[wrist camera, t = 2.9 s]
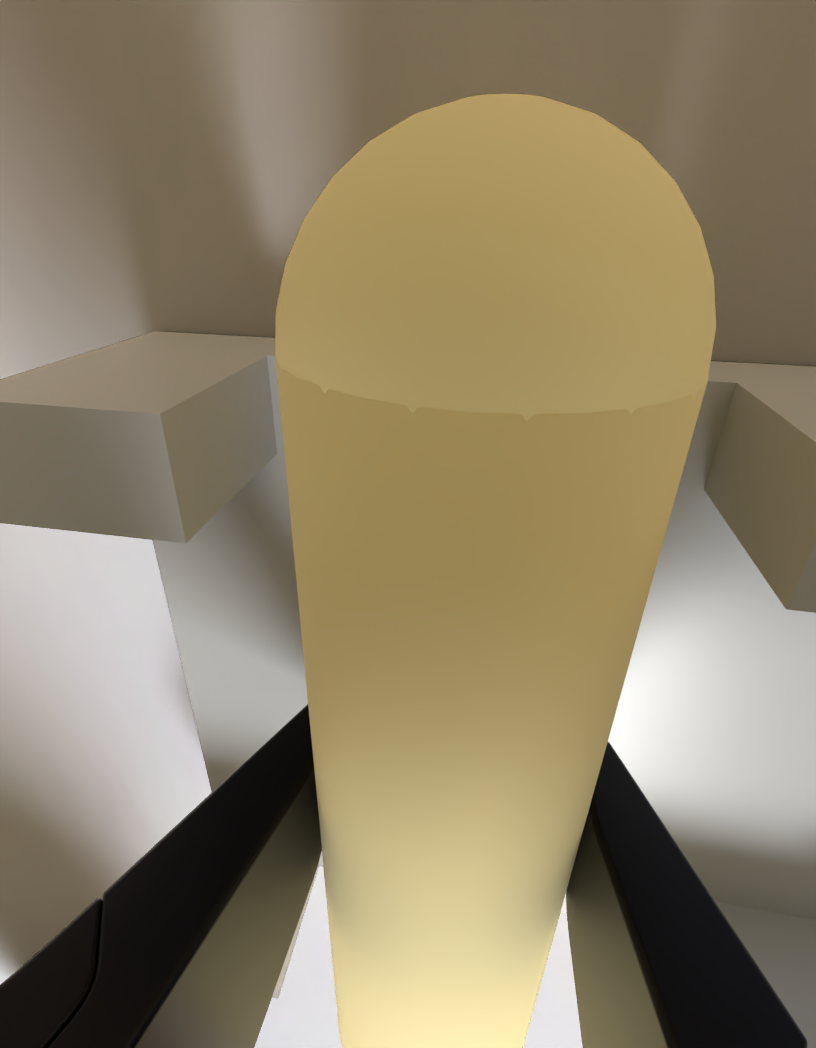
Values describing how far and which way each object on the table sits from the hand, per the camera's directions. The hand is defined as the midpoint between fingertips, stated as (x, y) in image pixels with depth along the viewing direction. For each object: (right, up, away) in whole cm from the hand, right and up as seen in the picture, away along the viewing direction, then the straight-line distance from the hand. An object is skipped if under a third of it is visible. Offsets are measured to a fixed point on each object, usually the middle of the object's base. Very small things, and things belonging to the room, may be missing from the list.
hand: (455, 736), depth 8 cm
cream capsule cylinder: (0, 0, 0) cm, 1 cm away
